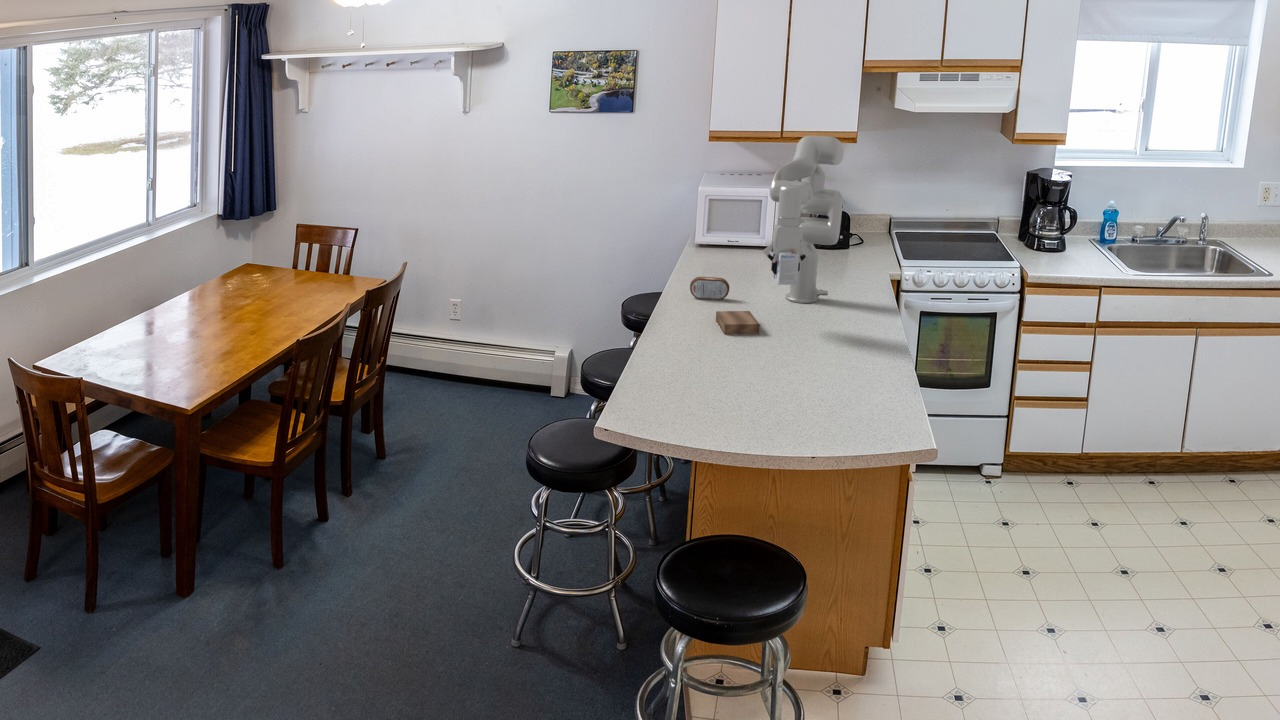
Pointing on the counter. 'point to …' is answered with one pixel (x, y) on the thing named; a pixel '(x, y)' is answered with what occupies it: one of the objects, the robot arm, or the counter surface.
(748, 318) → the walnut block
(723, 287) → the tin
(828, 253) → the counter surface
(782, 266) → the light bulb box
